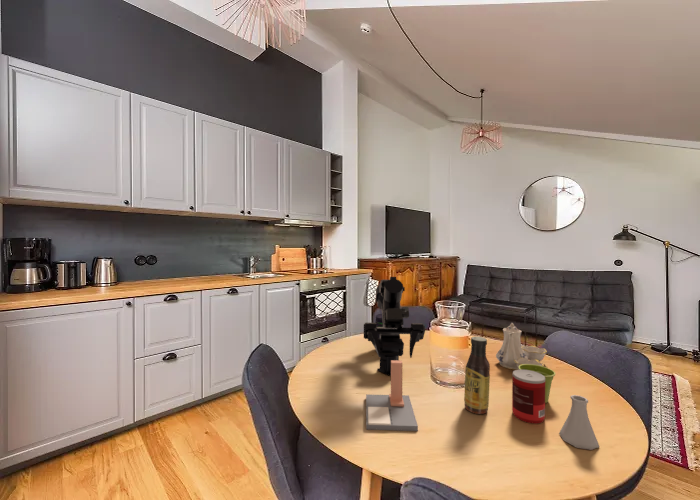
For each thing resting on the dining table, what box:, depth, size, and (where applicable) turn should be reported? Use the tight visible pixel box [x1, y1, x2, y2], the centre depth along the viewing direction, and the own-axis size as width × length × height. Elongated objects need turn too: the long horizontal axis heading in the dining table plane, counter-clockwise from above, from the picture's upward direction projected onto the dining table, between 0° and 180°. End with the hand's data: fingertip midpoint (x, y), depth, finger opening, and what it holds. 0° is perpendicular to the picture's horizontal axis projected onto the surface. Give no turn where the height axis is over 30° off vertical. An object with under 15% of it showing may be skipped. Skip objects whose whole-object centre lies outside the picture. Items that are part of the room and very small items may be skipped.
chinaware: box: [495, 322, 548, 371], centre depth 119 cm, size 28×17×17 cm, turn 150°
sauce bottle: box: [463, 336, 491, 415], centre depth 88 cm, size 7×6×20 cm
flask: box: [558, 394, 600, 451], centre depth 74 cm, size 7×7×10 cm
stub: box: [388, 360, 404, 407], centre depth 90 cm, size 6×4×11 cm, turn 177°
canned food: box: [511, 370, 546, 425], centre depth 85 cm, size 8×8×11 cm
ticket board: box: [365, 394, 419, 432], centre depth 86 cm, size 16×12×2 cm
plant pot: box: [518, 364, 556, 404], centre depth 95 cm, size 9×9×9 cm
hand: (395, 356), depth 94 cm, fingers open, 9 cm apart
